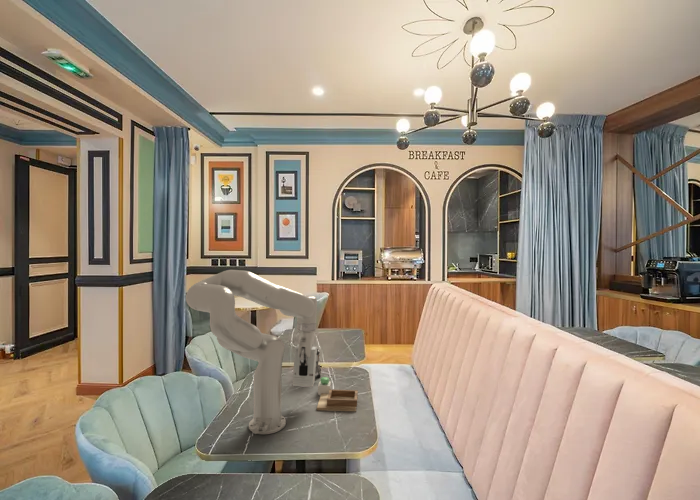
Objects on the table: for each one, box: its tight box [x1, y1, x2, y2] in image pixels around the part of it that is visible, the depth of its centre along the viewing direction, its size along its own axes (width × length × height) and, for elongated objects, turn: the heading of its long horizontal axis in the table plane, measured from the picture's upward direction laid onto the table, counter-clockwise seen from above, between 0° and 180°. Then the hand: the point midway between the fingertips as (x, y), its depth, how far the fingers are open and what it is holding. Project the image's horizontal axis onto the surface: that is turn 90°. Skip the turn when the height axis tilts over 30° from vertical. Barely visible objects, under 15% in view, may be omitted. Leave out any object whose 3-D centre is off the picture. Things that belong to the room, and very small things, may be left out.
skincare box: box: [291, 344, 318, 388], centre depth 139 cm, size 8×6×15 cm
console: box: [317, 380, 332, 396], centre depth 150 cm, size 5×5×4 cm
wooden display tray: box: [316, 388, 359, 412], centre depth 140 cm, size 13×15×4 cm
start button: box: [320, 376, 330, 384], centre depth 150 cm, size 4×4×5 cm
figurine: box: [315, 348, 322, 378], centre depth 167 cm, size 9×12×15 cm
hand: (304, 372), depth 139 cm, fingers closed on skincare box, 5 cm apart
